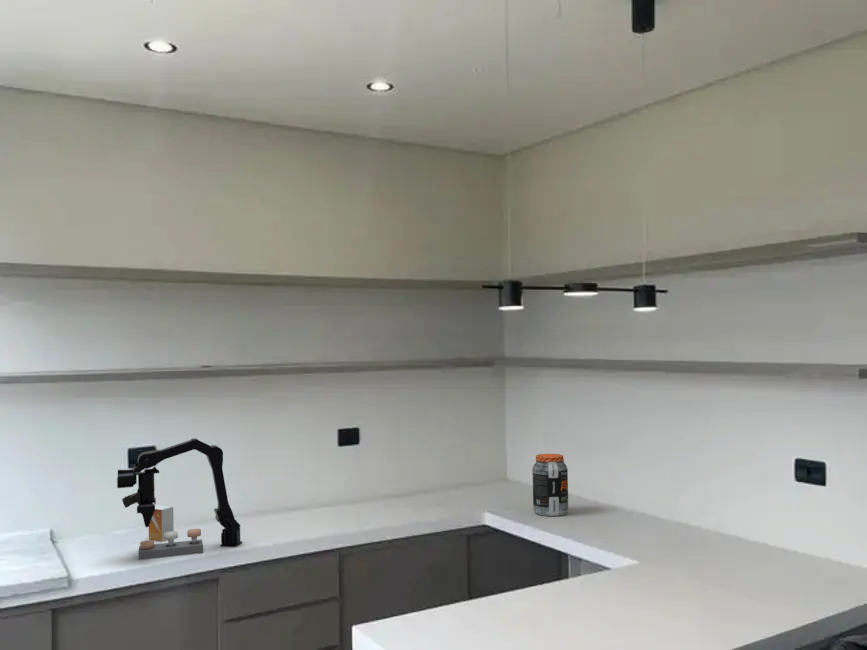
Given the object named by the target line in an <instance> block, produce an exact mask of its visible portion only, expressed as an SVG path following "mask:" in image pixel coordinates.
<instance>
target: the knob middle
mask: <svg viewBox="0 0 867 650" xmlns="http://www.w3.org/2000/svg"><path fill="white" fill-rule="evenodd" d="M178 534H179V532H178V531H176V530H174V531H169V532H165V533H164V539H165V541H168V542H167V543H168V547H170V546H174V542H175V540H176V539H178V538H179V535H178Z"/></svg>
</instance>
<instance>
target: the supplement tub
mask: <svg viewBox="0 0 867 650" xmlns="http://www.w3.org/2000/svg"><path fill="white" fill-rule="evenodd" d="M568 471H569V469H568V466H567V465H566V463H565V459H564V454H560V453H539V454H536V455H535V463H534V464H533V466H532V500H533V501H532V508H533V512H534V513H535V514H536V515H540V516H544V517H556V516H557V517H558V516H564V515H566V514H568V512H569V480H568V479H569V477H568V476H569V475H568Z"/></svg>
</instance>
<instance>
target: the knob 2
mask: <svg viewBox="0 0 867 650" xmlns="http://www.w3.org/2000/svg"><path fill="white" fill-rule="evenodd" d="M186 533H187V537H188V538H191V540H192V544H197V540H198V537H200V536H202V530H201V528H191V529H188V530H187V532H186Z"/></svg>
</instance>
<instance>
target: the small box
mask: <svg viewBox="0 0 867 650" xmlns="http://www.w3.org/2000/svg"><path fill="white" fill-rule="evenodd" d="M174 526H175V525H174V506H169V505H163V504H162V505H161V504H159V505H155V512H154V514H153V516H152V519H151V521H150V524H149V527H148V540H153V541H158V542H164V541H166V540H165V539H164V533H165V532H169V531H175V528H174Z"/></svg>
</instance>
